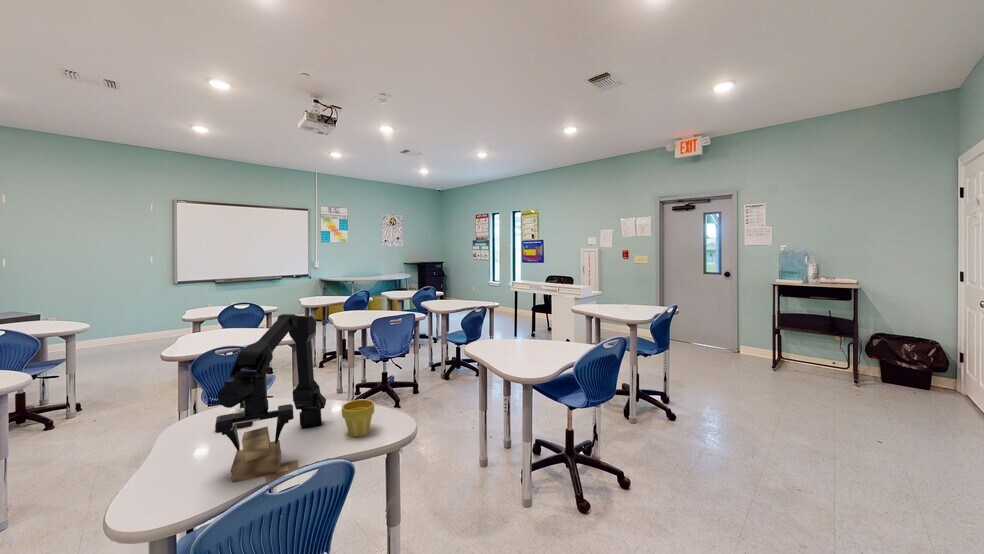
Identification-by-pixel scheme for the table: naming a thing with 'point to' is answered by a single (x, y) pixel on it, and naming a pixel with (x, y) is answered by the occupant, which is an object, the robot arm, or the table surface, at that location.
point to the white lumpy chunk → (235, 410)
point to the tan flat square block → (256, 464)
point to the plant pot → (358, 416)
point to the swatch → (283, 470)
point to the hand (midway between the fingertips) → (257, 446)
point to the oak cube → (256, 444)
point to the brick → (241, 423)
